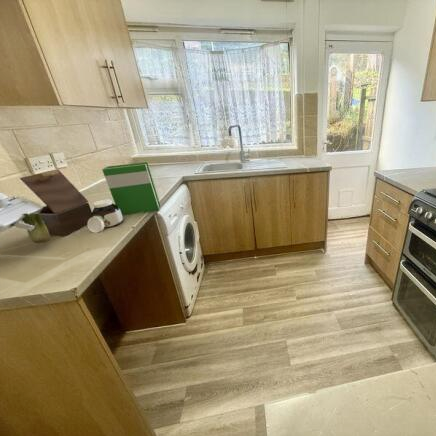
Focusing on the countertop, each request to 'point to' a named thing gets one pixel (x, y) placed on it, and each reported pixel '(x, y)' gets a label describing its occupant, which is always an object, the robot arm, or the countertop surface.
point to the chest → (66, 219)
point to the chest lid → (55, 190)
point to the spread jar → (104, 216)
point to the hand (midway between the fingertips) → (37, 226)
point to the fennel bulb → (37, 228)
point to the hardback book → (132, 188)
